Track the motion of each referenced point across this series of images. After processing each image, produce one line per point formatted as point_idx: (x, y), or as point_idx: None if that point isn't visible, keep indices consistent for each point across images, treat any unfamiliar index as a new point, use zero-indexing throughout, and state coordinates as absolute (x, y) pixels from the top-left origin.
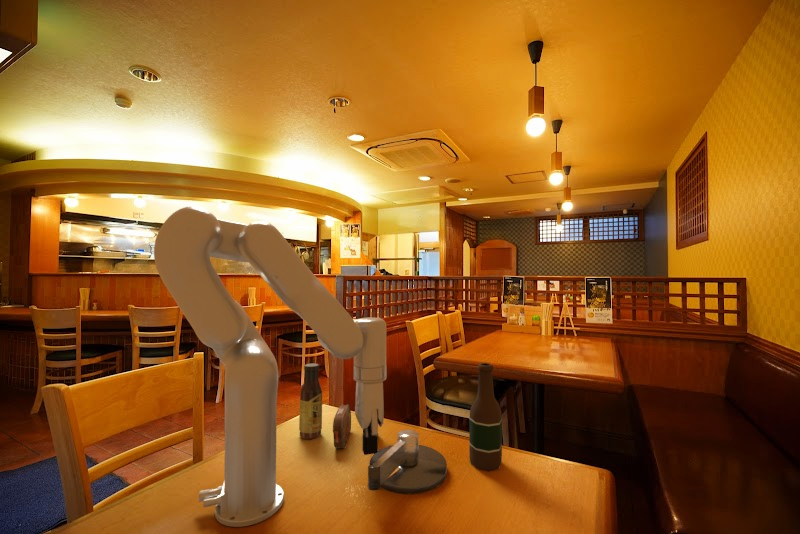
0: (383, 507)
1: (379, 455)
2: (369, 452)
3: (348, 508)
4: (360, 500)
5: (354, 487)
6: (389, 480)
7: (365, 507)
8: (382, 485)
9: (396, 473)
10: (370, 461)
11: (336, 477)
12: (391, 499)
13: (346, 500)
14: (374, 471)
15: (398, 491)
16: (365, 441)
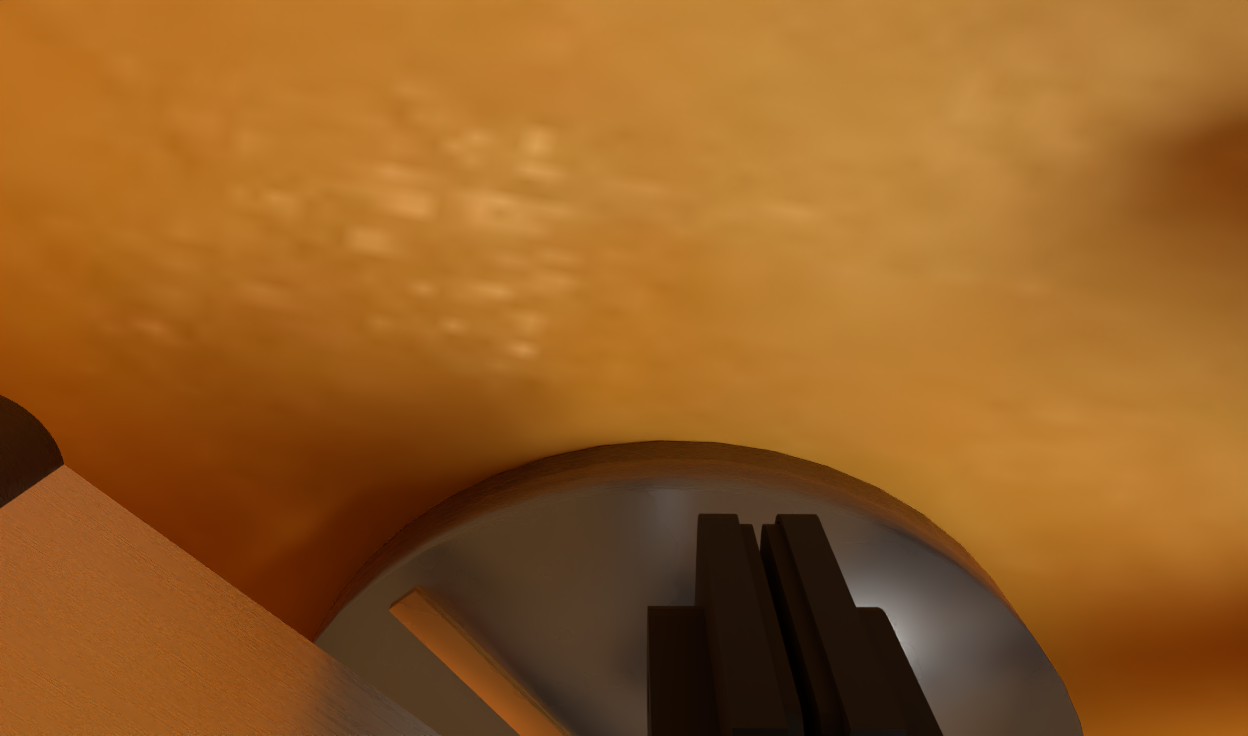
0: (137, 448)
1: (926, 639)
2: (696, 600)
3: (151, 109)
4: (274, 261)
5: (524, 239)
6: (366, 618)
7: (152, 288)
8: (426, 523)
9: (485, 708)
10: (829, 519)
11: (802, 51)
12: (249, 540)
13: (297, 109)
14: None
15: (320, 627)
16: (720, 682)
